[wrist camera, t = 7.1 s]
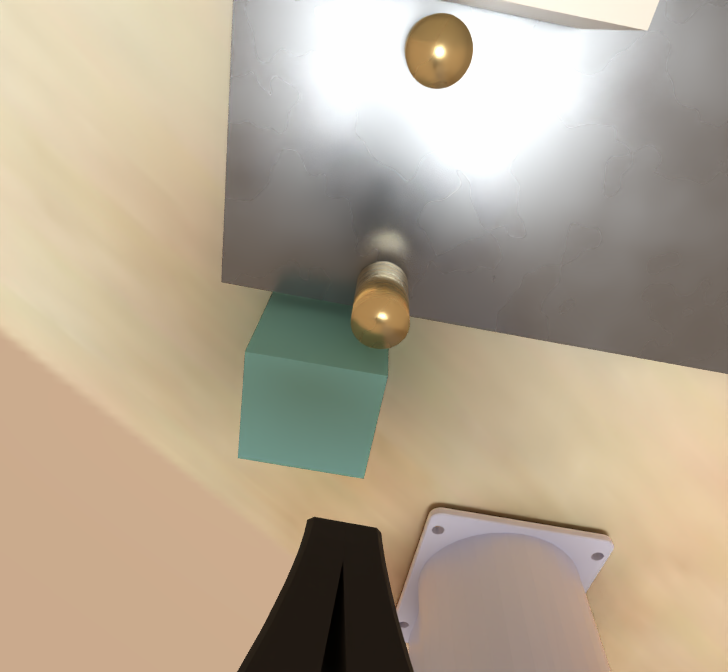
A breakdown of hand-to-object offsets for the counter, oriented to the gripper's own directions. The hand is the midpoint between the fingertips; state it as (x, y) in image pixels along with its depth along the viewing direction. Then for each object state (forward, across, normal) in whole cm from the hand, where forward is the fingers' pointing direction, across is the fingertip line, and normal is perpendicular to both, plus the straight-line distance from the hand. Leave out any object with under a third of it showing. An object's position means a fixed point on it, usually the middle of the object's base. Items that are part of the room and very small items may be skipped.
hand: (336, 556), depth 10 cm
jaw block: (+10, +1, +1) cm, 10 cm away
